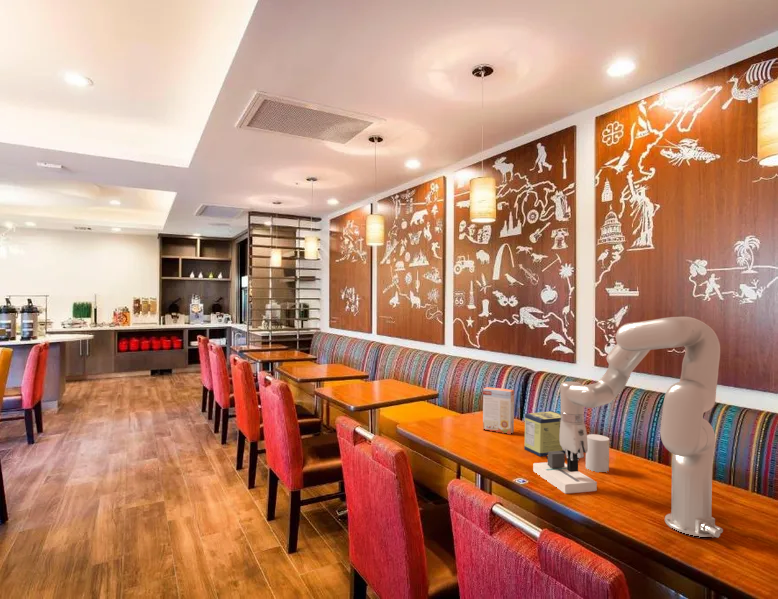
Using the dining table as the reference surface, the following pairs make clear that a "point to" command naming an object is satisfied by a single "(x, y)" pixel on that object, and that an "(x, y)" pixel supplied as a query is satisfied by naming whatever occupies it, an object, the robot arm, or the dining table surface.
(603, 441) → the white cylinder
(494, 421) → the cracker box
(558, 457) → the fader knob
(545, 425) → the protein box
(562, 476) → the fader console
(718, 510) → the dining table surface
